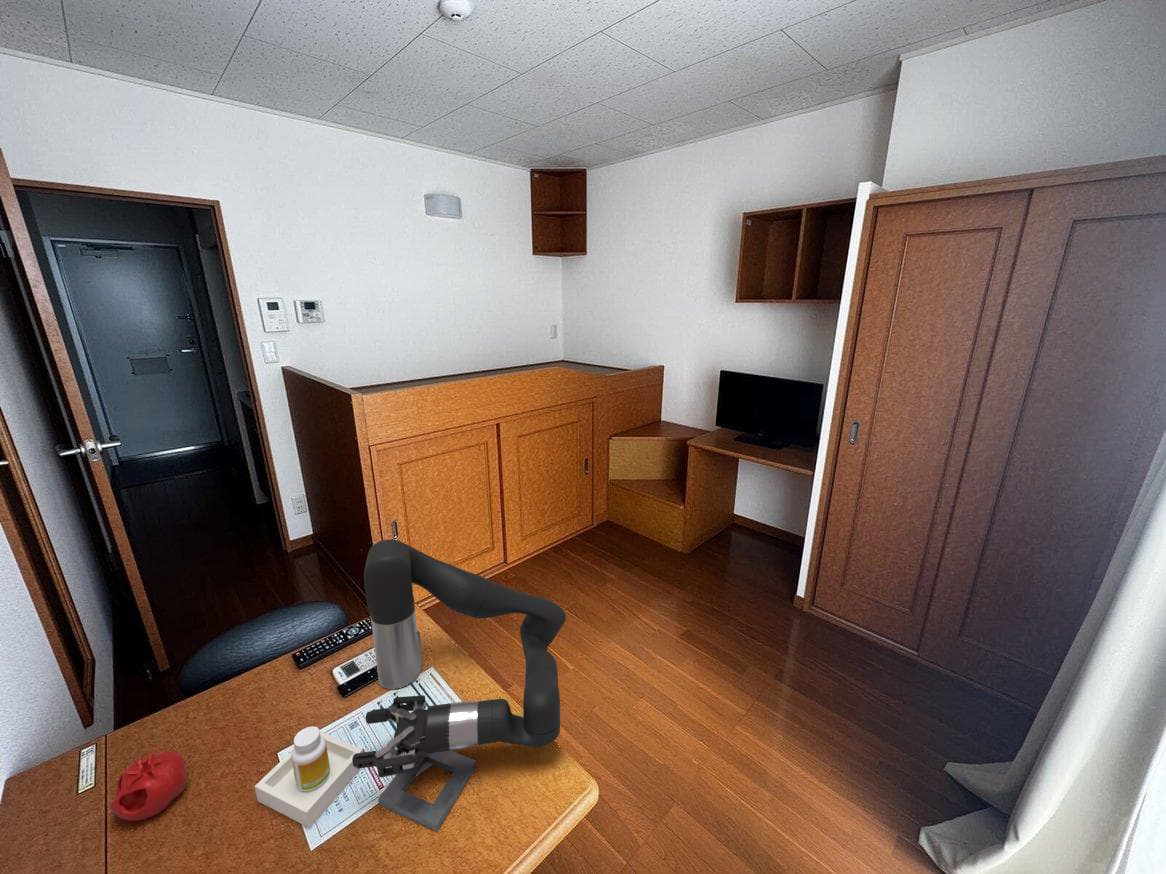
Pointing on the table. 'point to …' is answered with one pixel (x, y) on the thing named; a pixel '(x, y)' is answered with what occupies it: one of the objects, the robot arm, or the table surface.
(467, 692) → the table surface
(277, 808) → the bin
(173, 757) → the pomegranate
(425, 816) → the socket plate
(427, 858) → the table surface
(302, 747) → the supplement bottle
